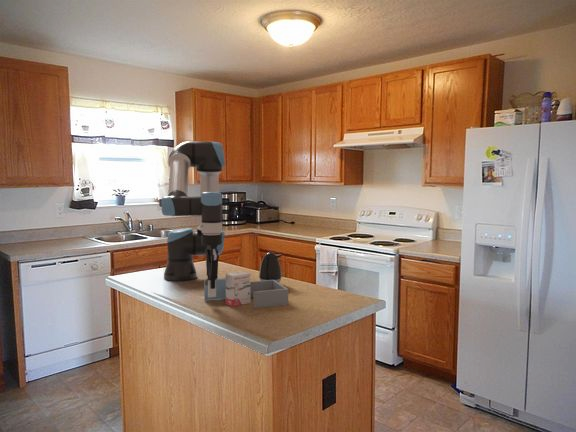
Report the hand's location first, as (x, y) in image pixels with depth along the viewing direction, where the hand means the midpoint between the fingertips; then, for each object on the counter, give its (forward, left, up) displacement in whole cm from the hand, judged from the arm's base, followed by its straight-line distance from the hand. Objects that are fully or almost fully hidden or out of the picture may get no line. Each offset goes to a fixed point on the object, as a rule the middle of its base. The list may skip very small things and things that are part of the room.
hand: (212, 296), depth 157 cm
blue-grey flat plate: (-8, +5, -3) cm, 10 cm away
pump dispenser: (-22, +31, -4) cm, 38 cm away
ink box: (0, +10, -4) cm, 11 cm away
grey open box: (0, +20, -4) cm, 20 cm away
